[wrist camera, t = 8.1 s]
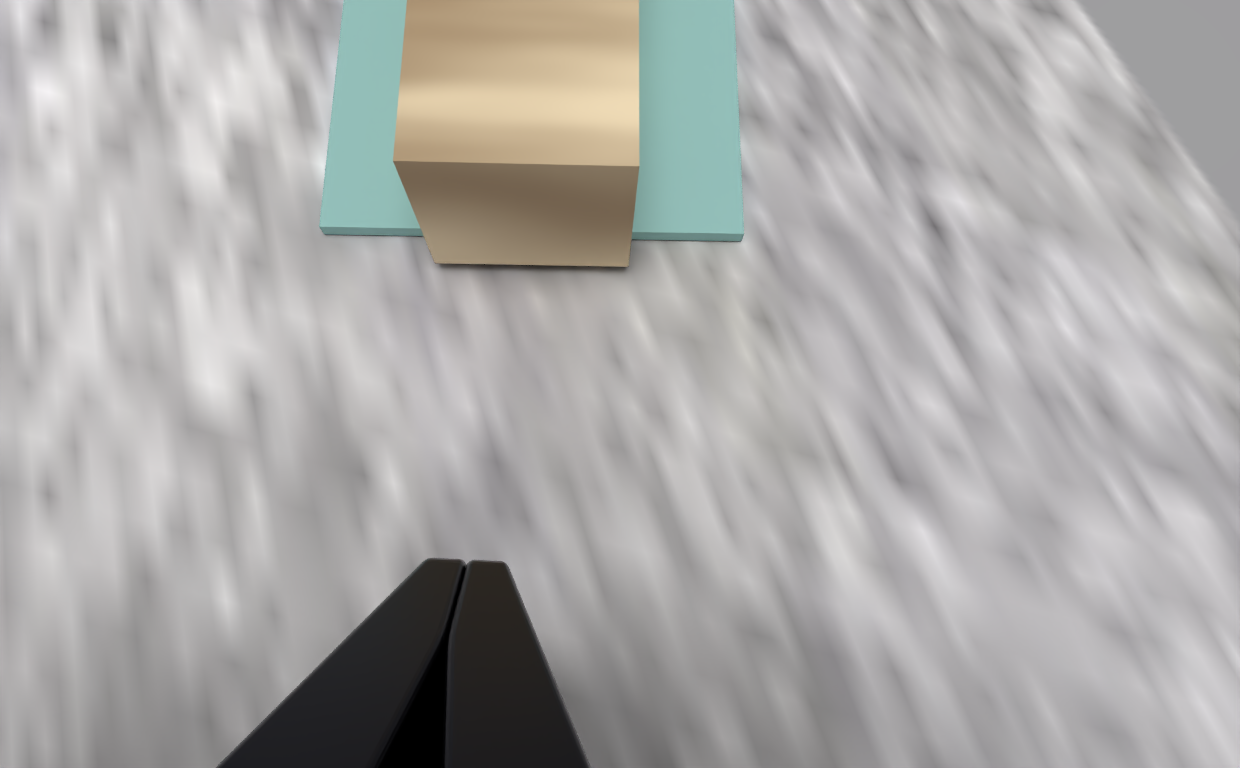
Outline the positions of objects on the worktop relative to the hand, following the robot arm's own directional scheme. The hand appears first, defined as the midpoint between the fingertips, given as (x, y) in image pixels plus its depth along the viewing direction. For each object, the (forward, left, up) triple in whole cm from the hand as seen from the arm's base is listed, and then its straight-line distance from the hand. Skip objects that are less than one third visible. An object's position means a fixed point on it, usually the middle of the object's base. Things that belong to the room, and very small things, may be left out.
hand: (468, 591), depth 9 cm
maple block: (+7, +4, -7) cm, 10 cm away
